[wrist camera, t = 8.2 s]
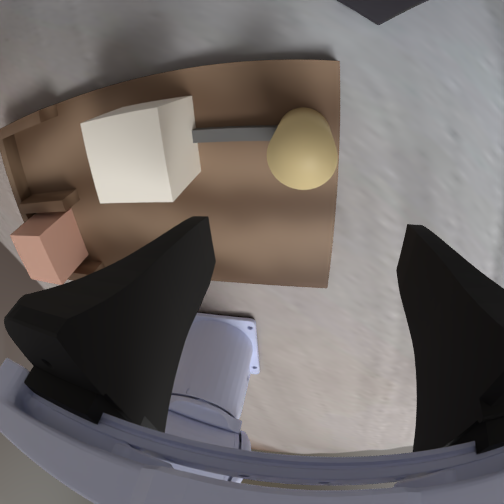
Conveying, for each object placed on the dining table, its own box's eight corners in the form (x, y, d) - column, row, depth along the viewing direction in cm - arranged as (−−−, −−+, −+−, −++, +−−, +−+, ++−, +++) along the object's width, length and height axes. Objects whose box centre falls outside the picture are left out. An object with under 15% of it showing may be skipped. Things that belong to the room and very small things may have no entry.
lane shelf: (327, 279, 23) (327, 306, 21) (59, 258, 28) (44, 275, 26) (337, 61, 14) (343, 60, 11) (14, 122, 19) (-9, 133, 16)
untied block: (88, 254, 25) (62, 285, 22) (56, 251, 26) (31, 278, 22) (71, 208, 22) (39, 236, 19) (39, 210, 23) (10, 235, 20)
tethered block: (328, 173, 17) (334, 211, 13) (135, 174, 19) (95, 207, 15) (330, 91, 14) (339, 101, 10) (123, 106, 16) (74, 125, 12)
